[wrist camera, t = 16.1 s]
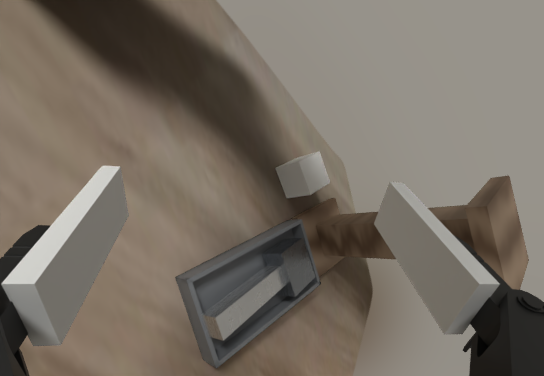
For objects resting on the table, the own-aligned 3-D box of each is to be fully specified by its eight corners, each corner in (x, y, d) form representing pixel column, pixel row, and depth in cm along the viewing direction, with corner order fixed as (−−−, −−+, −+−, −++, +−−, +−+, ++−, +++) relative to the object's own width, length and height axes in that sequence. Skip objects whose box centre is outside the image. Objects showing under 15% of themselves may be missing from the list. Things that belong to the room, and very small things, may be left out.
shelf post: (287, 220, 53) (486, 206, 30) (329, 198, 61) (509, 175, 39) (306, 281, 54) (512, 312, 31) (344, 252, 62) (528, 260, 40)
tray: (175, 277, 38) (186, 280, 36) (287, 220, 53) (301, 219, 50) (203, 359, 39) (216, 368, 37) (306, 281, 54) (320, 283, 51)
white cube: (295, 158, 56) (319, 151, 52) (306, 186, 57) (330, 182, 53) (274, 168, 53) (298, 161, 48) (286, 198, 53) (310, 194, 49)
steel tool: (195, 300, 36) (215, 303, 33) (284, 238, 50) (302, 237, 48) (213, 350, 37) (234, 357, 34) (296, 276, 51) (315, 276, 48)
